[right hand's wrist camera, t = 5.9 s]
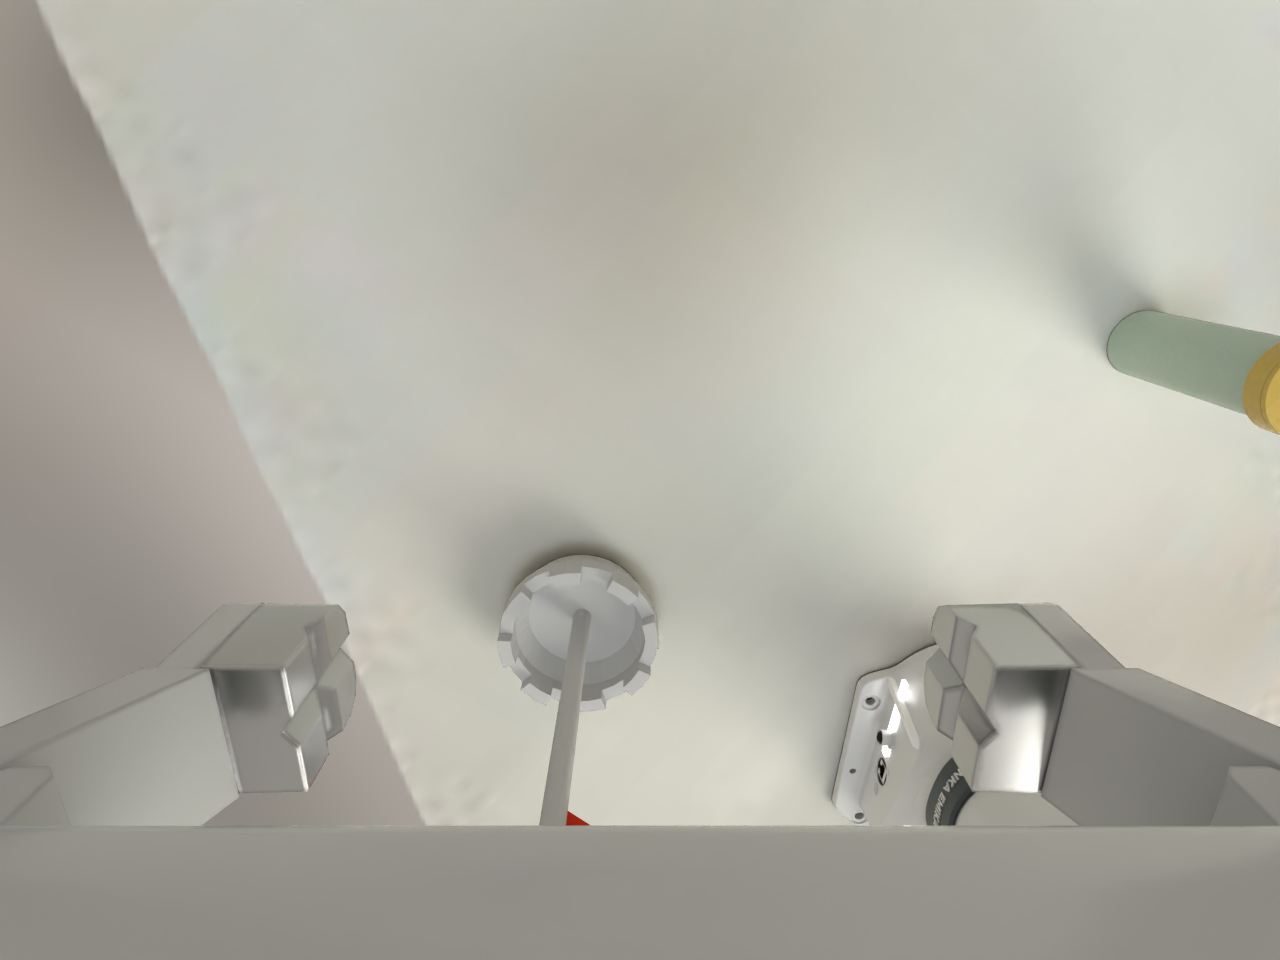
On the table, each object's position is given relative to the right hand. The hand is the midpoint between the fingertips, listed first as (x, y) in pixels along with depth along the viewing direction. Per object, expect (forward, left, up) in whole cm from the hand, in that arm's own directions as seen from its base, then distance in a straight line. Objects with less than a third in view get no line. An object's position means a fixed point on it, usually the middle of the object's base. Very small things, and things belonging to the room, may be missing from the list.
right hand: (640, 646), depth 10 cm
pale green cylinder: (+4, +38, -48) cm, 62 cm away
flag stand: (+27, -5, -48) cm, 55 cm away
